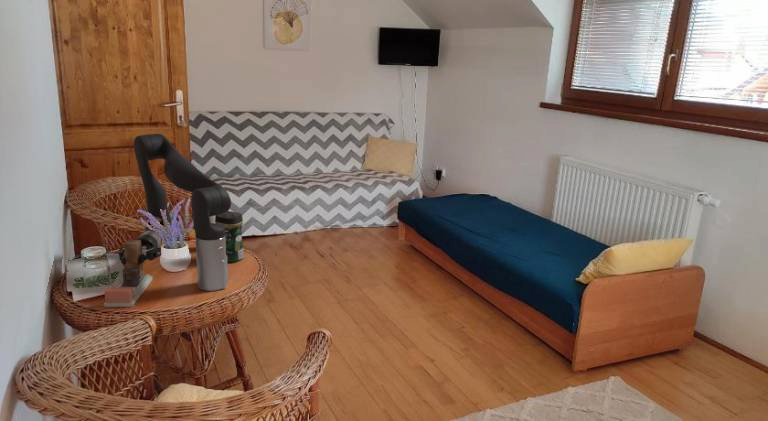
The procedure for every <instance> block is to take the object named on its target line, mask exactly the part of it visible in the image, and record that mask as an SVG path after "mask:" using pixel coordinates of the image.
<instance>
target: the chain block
mask: <svg viewBox="0 0 768 421" xmlns="http://www.w3.org/2000/svg"><path fill="white" fill-rule="evenodd" d="M123 249H124V252H125V263H126V264H125V268H122V270H121V272H122V280H123V284H124V286H138V285H139V283H140V282H141V281H142V280H143V278H144V277H145V276H146V275H145V273H144V264H143V263H144V262H143V263H141V265H138V262H137V259H138V257H139V256H140V255H142V247H141V240H136V239H127V240H126V241H125V242H124V243H123Z"/></svg>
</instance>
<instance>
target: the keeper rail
mask: <svg viewBox="0 0 768 421" xmlns="http://www.w3.org/2000/svg"><path fill="white" fill-rule="evenodd" d="M144 276H145V277H144V278H143V280H142V281H141V282H140V283H139V285H138V286H124V284H123V279H122V280H121V281H120V283H118V285H117V286H115V287H114V286H113V287H112V286H107V288H106V289H105V290H104V298H105V301H104V303H103V307H104V308H112V307H113V308H117V307H118V308H120V307H121V308H122V307H123V308H126V307H127V308H128V307H134V306H135V303H136V302H137V301H138V300H139V298H140V297H141V295H143V294H144V292H145V291H146V289H147V288H148V286H149V285H150V283H151V282H152V281H153V275H150V273H149V274H145V275H144Z"/></svg>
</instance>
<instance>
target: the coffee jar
mask: <svg viewBox="0 0 768 421" xmlns="http://www.w3.org/2000/svg"><path fill="white" fill-rule="evenodd" d="M243 220H244V219H243V214H242V213H241V212H237V211H231V210H228V211H227V212H226V213H223V214H220V215H216V216H215V224H219V225H222V226H223V227H224V228H225V241H226V255H227V263H235V262H236V263H237V262H239V261H242V260H243V259H244V246H243V234H242V232H243V230H242V228H243V223H244V221H243Z"/></svg>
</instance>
